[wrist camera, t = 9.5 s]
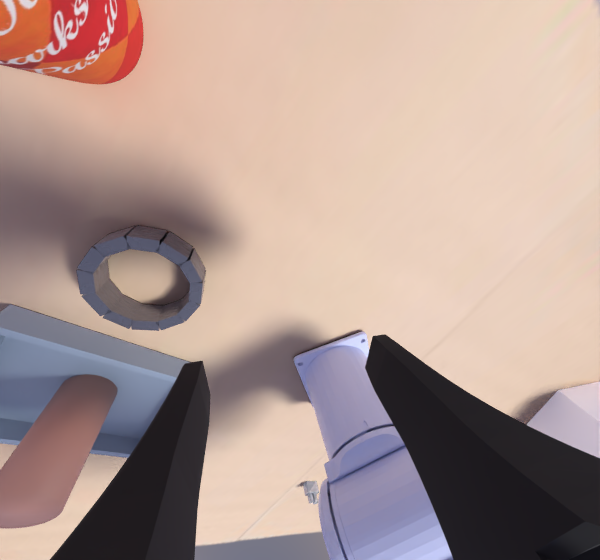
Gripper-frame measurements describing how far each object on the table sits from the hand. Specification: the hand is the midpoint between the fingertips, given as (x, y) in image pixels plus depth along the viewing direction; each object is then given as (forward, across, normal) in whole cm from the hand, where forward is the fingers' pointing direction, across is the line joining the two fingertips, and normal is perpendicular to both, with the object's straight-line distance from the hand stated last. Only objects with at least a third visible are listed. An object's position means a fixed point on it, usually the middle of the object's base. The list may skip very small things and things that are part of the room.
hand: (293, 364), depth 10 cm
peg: (+10, +15, +11) cm, 21 cm away
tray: (+10, +15, +11) cm, 22 cm away
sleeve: (+10, +8, +1) cm, 13 cm away
